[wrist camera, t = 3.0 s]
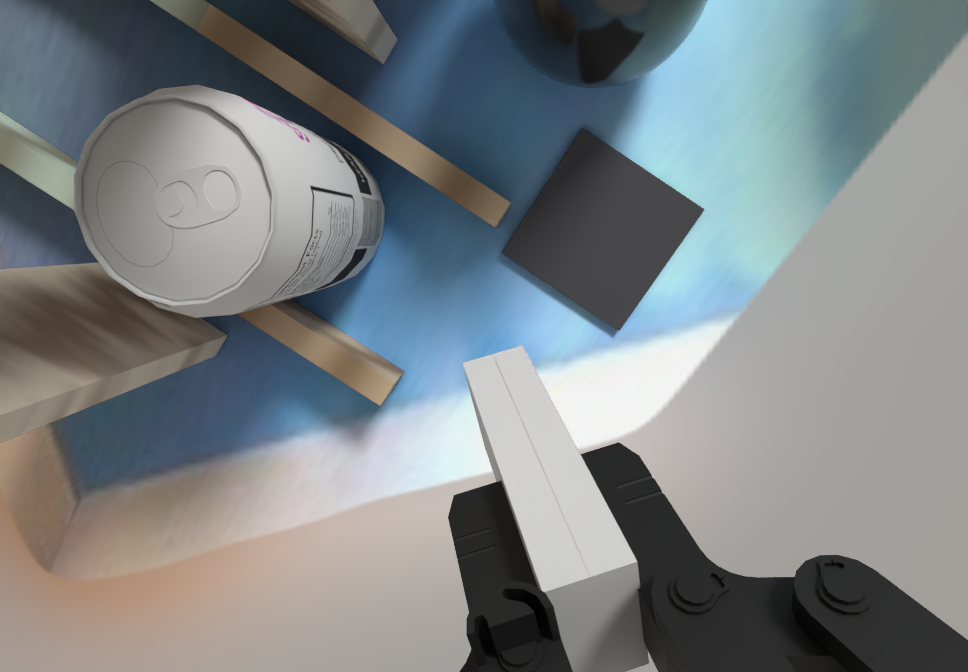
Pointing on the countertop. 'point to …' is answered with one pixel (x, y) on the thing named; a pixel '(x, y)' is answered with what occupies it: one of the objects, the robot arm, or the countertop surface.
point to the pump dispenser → (597, 36)
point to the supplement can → (222, 203)
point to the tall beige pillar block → (116, 304)
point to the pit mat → (602, 229)
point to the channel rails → (187, 3)
